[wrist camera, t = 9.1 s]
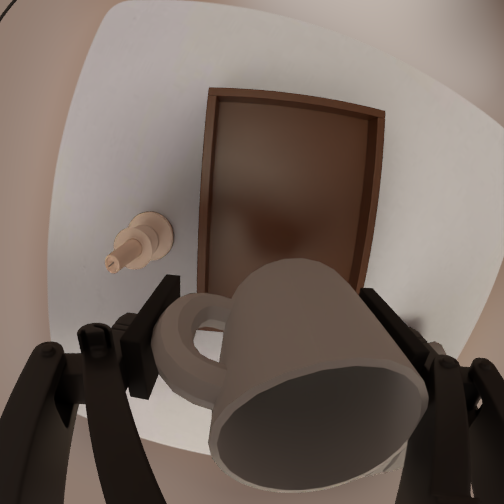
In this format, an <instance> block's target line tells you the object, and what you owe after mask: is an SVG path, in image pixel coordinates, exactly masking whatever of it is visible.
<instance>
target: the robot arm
mask: <svg viewBox="0 0 504 504" xmlns="http://www.w3.org/2000/svg"><path fill="white" fill-rule="evenodd" d="M16 1H17V0H13V1H12V2H11V3H10V4H9V5H8V7H7V8H6V9H5V11H4V12H3V13H2V15H1V16H0V21H1V20H2V18H3V17H4V16H5V14H6V13H7V11H8V10H9V9H10V8H11V6H12V5H13V4H14V3H15V2H16ZM359 297H360V298H361V299H362V300H363V302H364V303H365V304H366V305H367V307H368V308H369V309H370V310H371V312H372V313H373V314H374V315H375V317H376V318H377V319H378V321H379V322H380V323H381V324H382V326H383V327H384V328H385V330H386V331H387V332H388V333H389V335H390V336H391V337H392V339H393V340H394V341H395V343H396V344H397V345H398V347H399V348H400V349H401V350H402V352H403V353H404V354H405V356H406V357H407V359H408V360H409V361H410V363H411V364H412V365H413V367H414V368H415V369H416V371H417V372H418V374H419V375H420V376H421V378H422V379H423V380H424V382H425V386H426V389H427V393H428V396H429V400H428V407H427V410H426V411H425V413H424V415H423V417H422V418H421V420H420V422H419V423H418V425H417V427H416V428H415V430H414V431H413V433H412V435H411V436H410V438H409V439H408V443H407V449H406V455H405V460H404V466H403V471H402V476H401V480H400V485H399V489H398V493H397V497H396V501H395V504H504V380H503V378H502V376H501V375H500V373H499V372H498V370H497V369H496V367H495V366H494V364H493V363H491V362H490V361H489V360H488V359H485V358H476V359H474V360H473V362H472V364H471V366H470V367H461V366H460V365H459V362H458V361H457V360H456V359H454V358H453V357H451V356H448V355H442V354H441V355H439V354H438V353H437V352H436V351H435V350H434V349H433V348H432V346H431V345H430V344H429V343H427V341H426V340H425V339H424V338H423V337H422V335H421V334H420V333H419V332H418V331H416V330H415V329H413V328H411V327H408V326H407V325H406V324H405V323H404V322H403V321H402V320H401V318H400V317H399V316H398V315H397V314H396V313H395V312H394V311H393V310H392V309H391V308H390V306H389V305H388V304H387V303H386V302H385V301H384V300H383V299H382V298H381V297H380V296H379V295H378V294H377V293H376V292H375V291H374V290H373V288H360V293H359ZM178 298H180V276H178V275H167V274H166V276H165V277H164V278H163V280H162V281H161V282H160V284H159V285H158V287H157V288H156V289H155V291H154V292H153V293H152V295H151V296H150V297H149V299H148V300H147V302H146V303H145V304H144V306H143V307H142V308H141V310H140V311H139V313H138V314H135V313H126V314H124V315H122V316H121V317H119V318H118V320H117V321H116V322H115V324H114V325H113V326H112V327H111V328H110V327H109V326H108V325H106V324H102V323H91V324H87V325H85V326H82V327H81V328H80V329H79V330H78V332H77V336H78V341H79V345H80V349H81V353H77V354H75V353H64V350H63V347H62V345H60V344H59V343H57V342H45V343H41V344H39V345H38V346H36V347H35V349H34V350H33V352H32V354H31V355H30V357H29V359H28V361H27V363H26V365H25V367H24V369H23V371H22V373H21V374H20V377H19V378H18V381H17V383H16V385H15V387H14V389H13V391H12V393H11V395H10V397H9V400H8V402H7V404H6V407H5V409H4V411H3V414H2V416H1V418H0V504H64V492H65V482H66V474H67V466H68V459H69V453H70V447H71V441H72V435H73V430H74V425H75V420H76V415H77V411H78V406H79V404H86V411H87V418H88V425H89V431H90V437H91V442H92V448H93V453H94V458H95V463H96V467H97V471H98V476H99V480H100V483H101V487H102V491H103V494H104V498H105V501H106V504H167V503H166V501H165V499H164V497H163V495H162V493H161V490H160V488H159V486H158V484H157V481H156V479H155V476H154V474H153V472H152V469H151V467H150V464H149V462H148V459H147V457H146V454H145V451H144V449H143V446H142V443H141V440H140V437H139V434H138V431H137V428H136V425H135V422H134V419H133V416H132V412H131V409H130V406H129V402H128V399H127V395H126V390H127V388H129V392H130V396H131V397H136V398H141V399H146V400H149V397H150V395H151V392H152V390H153V387H154V384H155V382H156V379H157V377H158V374H159V372H158V369H157V366H156V363H155V359H154V355H153V351H152V347H151V339H152V333H153V328H154V326H155V324H156V323H157V321H158V319H159V317H160V315H161V314H162V313H163V312H164V311H165V310H166V309H167V308H168V307H169V306H170V305H171V304H172V303H173V302H174V301H175V300H177V299H178ZM480 399H482V405H481V407H480V408H479V409H478V408H477V404H478V402H479V400H480ZM471 484H472V489H473V494H474V498H472V497H471V494H470V489H471V488H470V487H471Z"/></svg>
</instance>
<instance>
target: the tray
mask: <svg viewBox="0 0 504 504" xmlns="http://www.w3.org/2000/svg"><path fill="white" fill-rule="evenodd" d="M384 128H385V111H383V110H379V109H375V108H371V107H366V106H362V105H357V104H353V103H348V102H343V101H338V100H332V99H326V98H321V97H314V96H308V95H301V94H293V93H285V92H276V91H265V90H253V89H238V88H209V91H208V100H207V110H206V121H205V132H204V144H203V157H202V172H201V188H200V206H199V229H198V260H197V293H209V294H215V295H220V296H224V297H227V298H230V299H232V297H233V295H234V293H235V291H236V290H237V288H238V286H239V285H240V284H241V283H242V282H243V281H244V280H245V279H246V278H247V277H248V276H249V275H250V274H251V273H253V272H254V271H256V270H258V269H259V268H261V267H263V266H264V265H266V264H269V263H272V262H276V261H279V260H282V259H293V258H304V259H309V260H314V261H318V262H321V263H323V264H325V265H326V266H328V267H330V268H332V269H334V270H335V271H336V272H337V273H338V274H339V275H340V276H341V277H343V278H344V279H345V280H346V281H347V282H348V283H349V284H350V286H351V287H352V288H353V289H354V290H355V292H356V293H357V294H358V295H359V293H360V288H363V287H364V282H365V278H366V273H367V268H368V262H369V257H370V251H371V246H372V240H373V233H374V227H375V220H376V213H377V206H378V198H379V189H380V180H381V170H382V159H383V145H384ZM197 330H205V331H217V332H224V331H223V330H220V329H216V328H213V327H202V328H199V329H197Z"/></svg>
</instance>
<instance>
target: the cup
mask: <svg viewBox="0 0 504 504" xmlns="http://www.w3.org/2000/svg"><path fill="white" fill-rule="evenodd" d="M202 327H213V328H216V329H220V330H223V331H224V332H223V341H222V347H221V354H220V361H219V362H216V361H213V360H210V359H208V358H207V357H205V356H203V355H202V354H200V353H199V351H198V350H197V349H196V348H195V346H194V343H193V340H194V336H195V333H196V330H197V329H199V328H202ZM151 347H152V351H153V355H154V359H155V363H156V366H157V369H158V372H159V375H160V376H161V377H162V379H163V380H164V381H165V382H166V383H167V385H168V386H169V387H170V388H171V389H172V391H173V392H174V393H176V394H178V395H179V396H181V397H183V398H184V399H186V400H188V401H189V402H191V403H193V404H195V405H198V406H201V407H204V408H207V409H210V410H212V420H211V426H210V433H209V440H208V444H209V448H210V452H211V456H212V459H213V460H214V462H216V464H217V465H218V466H219V468H220V469H221V470H222V471H223V472H224V473H226V474H227V475H229V476H230V477H232V478H233V479H235V480H236V481H238V482H240V483H243V484H246V485H248V486H251V487H254V488H257V489H262V490H267V491H273V492H282V493H285V492H286V493H302V492H311V491H318V490H325V489H329V488H332V487H336V486H339V485H343V484H346V483H349V482H351V481H354V480H356V479H359V478H361V477H363V476H365V475H368V474H370V473H371V472H373V471H375V470H376V469H378V468H380V467H381V466H383V465H384V464H386V463H387V462H389V461H390V460H391V459H393V458H394V457H395V456H396V455H397V454H398V453H400V452H401V451H402V450H403V449H404V448H405V447H406V446H407V443H408V439H409V438H410V436H411V435H412V433H413V431H414V430H415V428H416V427H417V425H418V423H419V422H420V420H421V418H422V417H423V415H424V413H425V411H426V410H427V407H428V400H429V396H428V393H427V389H426V386H425V382H424V380H423V379H422V378H421V376H420V375H419V374H418V372H417V371H416V369H415V368H414V367H413V365H412V364H411V363H410V361H409V360H408V359H407V357H406V356H405V354H404V353H403V352H402V350H401V349H400V348H399V347H398V345H397V344H396V343H395V341H394V340H393V339H392V337H391V336H390V335H389V333H388V332H387V331H386V330H385V328H384V327H383V326H382V324H381V323H380V322H379V321H378V319H377V318H376V317H375V315H374V314H373V313H372V312H371V310H370V309H369V308H368V307H367V305H366V304H365V303H364V302H363V300H362V299H361V298H360V297H359V295H358V294H357V293H356V292H355V290H354V289H353V288H352V287H351V286H350V284H349V283H348V282H347V281H346V280H345V279H344V278H343V277H341V276H340V275H339V274H338V273H337V272H336V271H335V270H334V269H332V268H330V267H328V266H326V265H325V264H323V263H321V262H318V261H314V260H309V259H304V258H293V259H282V260H279V261H276V262H272V263H269V264H266V265H264V266H263V267H261V268H259V269H258V270H256V271H254V272H253V273H251V274H250V275H249V276H248V277H247V278H246V279H245V280H244V281H243V282H242V283H241V284H240V285H239V286H238V288H237V290H236V291H235V293H234V295H233V297H232V299H230V298H227V297H224V296H220V295H215V294H209V293H190V294H188V295H185V296H182V297H180V298H178V299H177V300H175V301H174V302H173V303H172V304H171V305H170V306H169V307H168V308H167V309H166V310H165V311H164V312H163V313H162V314H161V315H160V317H159V319H158V321H157V323H156V324H155V326H154V328H153V333H152V339H151Z"/></svg>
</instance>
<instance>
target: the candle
mask: <svg viewBox="0 0 504 504" xmlns="http://www.w3.org/2000/svg"><path fill="white" fill-rule="evenodd" d="M173 241H174V233H173V229H172V226H171V225H170V223H169V221H168V220H167V219H166V218H165V217H164V216H162V215H161V214H159V213H156V212H144V213H141V214H139V215H137V216H136V217H134V219H133V220H132V221H131V222H130V224H129V226H128V228H126V229H123V230H122V231H120V232H119V233H118V235H117V236H116V238H115V240H114V251H113V252H111V253H110V254H109V255H108V256H107V257H106V259H105V266H106V268H107V270H108V271H109V272H111V273H117V272H118V271H119V270H121V269H122V268H123V267H126V268H129V269H136V270H137V269H141V268H143V267H145V266H146V265H147V264H148V263H149V262H150V260H158V259H160V258H162V257H164V256H165V255H166V254H167V253H168V252H169V251H170V249H171V247H172V245H173Z"/></svg>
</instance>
